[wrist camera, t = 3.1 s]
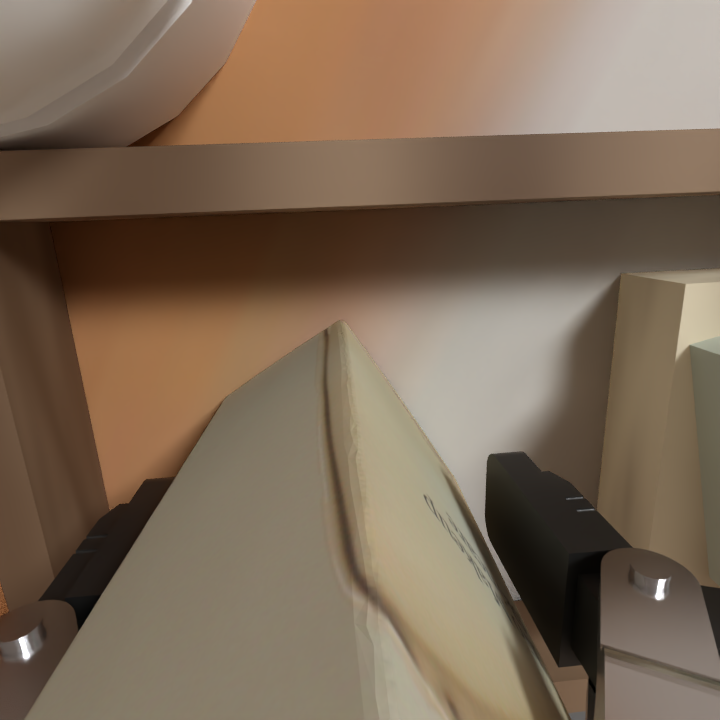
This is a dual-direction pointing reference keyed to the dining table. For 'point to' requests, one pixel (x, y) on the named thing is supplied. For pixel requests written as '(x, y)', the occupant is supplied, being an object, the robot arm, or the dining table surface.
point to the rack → (230, 197)
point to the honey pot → (106, 66)
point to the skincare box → (307, 573)
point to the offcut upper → (709, 440)
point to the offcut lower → (658, 415)
